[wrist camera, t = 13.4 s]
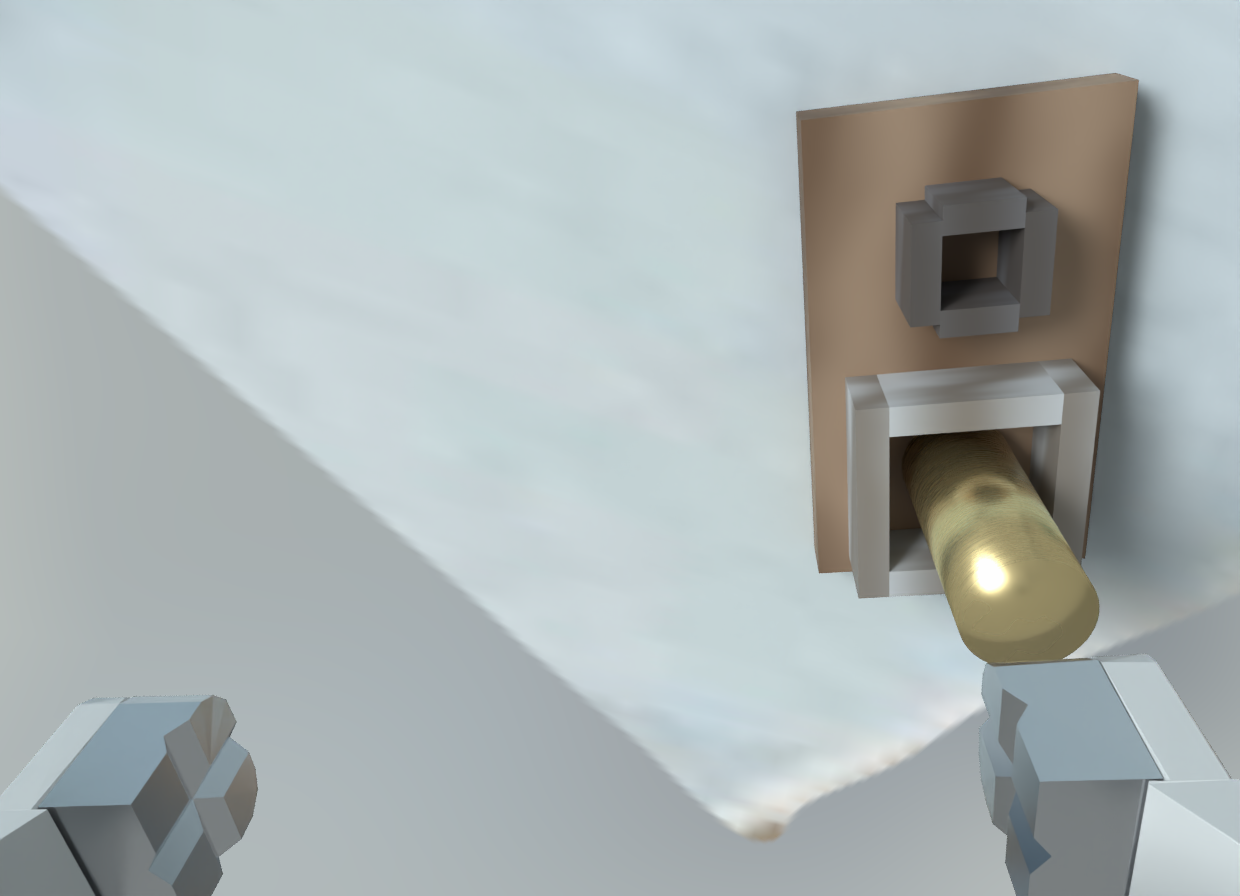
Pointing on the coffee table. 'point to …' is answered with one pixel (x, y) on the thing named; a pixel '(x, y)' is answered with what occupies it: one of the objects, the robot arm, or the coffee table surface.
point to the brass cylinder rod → (997, 549)
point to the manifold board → (957, 300)
